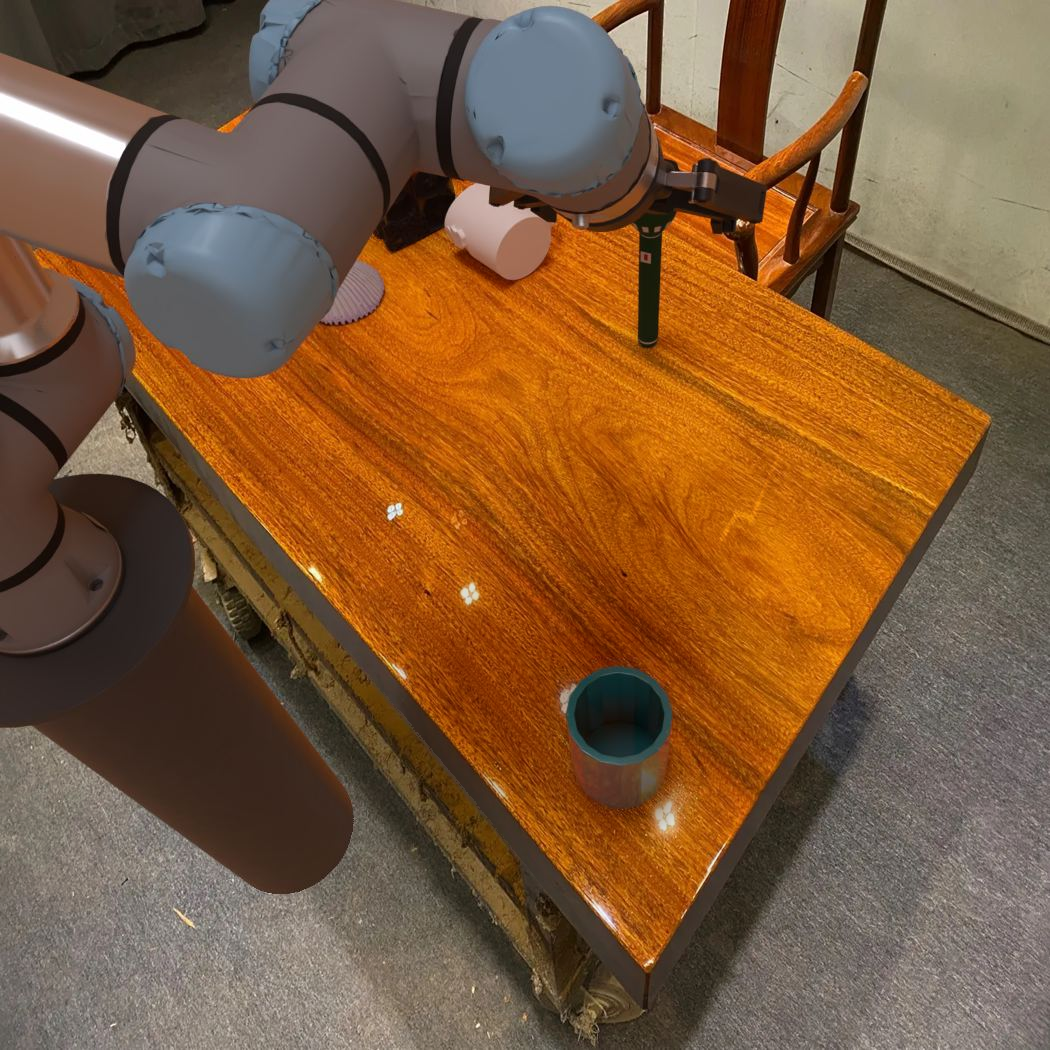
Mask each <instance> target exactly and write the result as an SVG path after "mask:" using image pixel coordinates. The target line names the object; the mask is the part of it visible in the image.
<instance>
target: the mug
mask: <svg viewBox="0 0 1050 1050" xmlns="http://www.w3.org/2000/svg"><path fill="white" fill-rule="evenodd" d="M489 191H490V186H487V185H483V184H478V183H473V184H471V185H469V186H468V187H466V188H465V189H464V190H463V191H461V193H459V194H458V196H456V197H455V198H456V199H455V200H454V202H453V203H452V204H451V206H450V208H449V210H448V212H447V214H446V218H445V226H444V231H445V234H446V235H447V237H448V238H449V239H450V240H451V241H452V242H453V244H454V245H455V246H456V247H457V248H458V249H465V250H467V252H468V253H469V255H470V256H472V258H474V259H475V260H477V261H478V262H480V263H481V264H483V265H484V266H486V267H487V268H489V269H490V270H492V271H493V272H495V273H496V274H498V275H499V276H500V277H502V278H503V279H505V280H509V281H516V280H520V279H523V278H525V277H527V276H529V275H530V274H532V273H533V272H534V271H535V270H537V268H538V267H539V266H540V265H541V264H542V262H543V261H544V260H545V258H546V257H547V254H548V252H549V250H550V247H551V241H552V229H551V228H553V227H554V226H555V224H556V223H553V222H546V221H545V220H543V219H542V218H540V217H539V216H537V215H536V214H534V213H533V212H531V211H530V208H526V209H524V210H520V209H518V208H515V207H514V201H512V202H510V203H508V204H506V205H504V206H499V207H493V206H491V205H490V204H489ZM557 221H558V218H557V219H556V222H557Z"/></svg>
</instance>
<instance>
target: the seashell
mask: <svg viewBox="0 0 1050 1050" xmlns="http://www.w3.org/2000/svg"><path fill="white" fill-rule="evenodd" d="M384 291H386V289H385V283H384V280H383V278H382V276H381V274H380V273H379V271H378V269H376V267H375V266H373V265H372V264H371V265H370V264H368V262H364V261H363V260H358V259H357V260H356V262H355V263H354V265H353V266H352V268H351V270H350V271H349V273H348V275H347V276H346V278H345V280H344V281H343V283H342V285H341V286H340V288H339V290H338V292H337V296H336V297H335V300H334V304H333V306H332V308H331V309H330V311H329V312H328V313H327V314H326V315H325V317H324V318H323V319H322V320H321V321H320V322H321V323H322V324H323V323H324V324H325V325H327V324H329V325H330V326H333V323H334V325H336V326H339V322H340V324H342V325H343V326H345V325H346V322H347V323H348V324H352V321H353V320H354V322H355V323H356V322H358V319H359V318H360V319H363V318H364V316H365V317H368V315H369V313H370V314H372V313H373V311H374V310H377V307H379V306H380V302H381V300H382V298H383V295H384Z"/></svg>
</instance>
